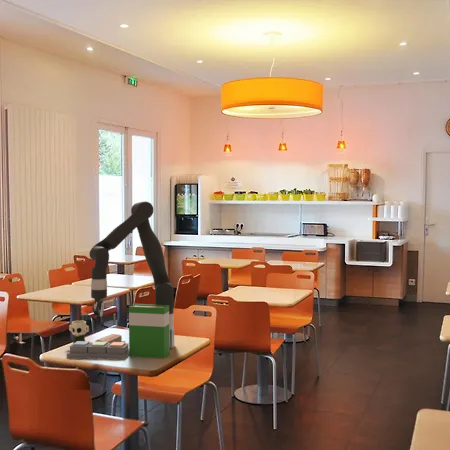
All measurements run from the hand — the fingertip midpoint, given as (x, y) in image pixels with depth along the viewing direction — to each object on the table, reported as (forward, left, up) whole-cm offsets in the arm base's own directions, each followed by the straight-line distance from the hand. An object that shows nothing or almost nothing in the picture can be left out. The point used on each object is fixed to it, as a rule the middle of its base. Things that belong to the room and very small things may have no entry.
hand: (99, 323), depth 283 cm
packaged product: (+1, -19, -16) cm, 24 cm away
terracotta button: (-9, 0, -11) cm, 15 cm away
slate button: (+9, 0, -11) cm, 14 cm away
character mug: (+15, -14, -15) cm, 25 cm away
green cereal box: (-24, -2, -15) cm, 29 cm away
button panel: (0, 0, -15) cm, 15 cm away
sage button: (0, 0, -11) cm, 11 cm away
